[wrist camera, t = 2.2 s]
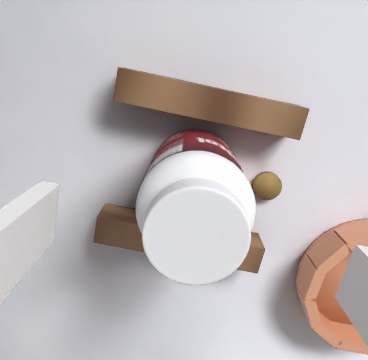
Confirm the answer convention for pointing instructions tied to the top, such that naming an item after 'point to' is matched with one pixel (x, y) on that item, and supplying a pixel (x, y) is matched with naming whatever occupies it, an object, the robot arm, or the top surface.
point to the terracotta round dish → (330, 284)
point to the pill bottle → (195, 209)
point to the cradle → (206, 110)
